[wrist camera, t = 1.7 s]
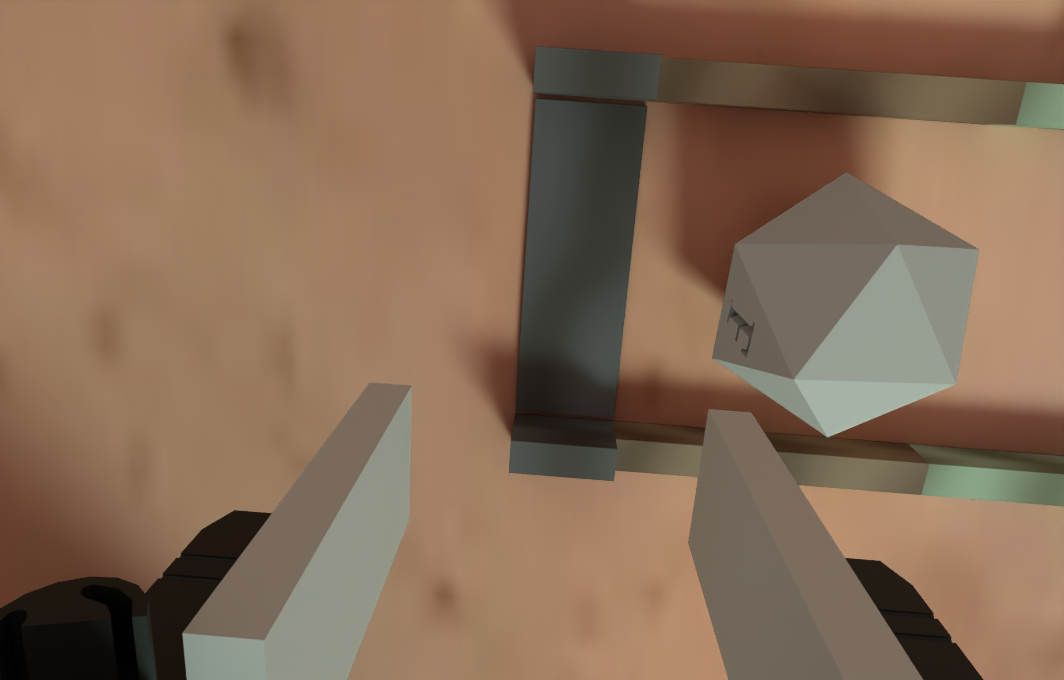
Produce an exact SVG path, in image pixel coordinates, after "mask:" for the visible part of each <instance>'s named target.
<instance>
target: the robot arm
mask: <svg viewBox="0 0 1064 680" xmlns="http://www.w3.org/2000/svg"><path fill="white" fill-rule="evenodd" d="M411 396H412V386H408V385H395V384H382V383H369V384H368V386H367V387H366V388H365V390H364V391H363V392H362V394H361V395H360V396H359V398H358V399H357V400H356V402H355V403H354V404H353V406H352V407H351V408H350V410H349V411H348V412H347V414H346V415H345V416H344V418H343V419H342V420H341V422H340V423H339V424H338V426H337V427H336V428H335V430H334V431H333V432H332V434H331V435H330V436H329V438H328V439H327V440H326V442H325V443H324V444H323V446H322V447H321V448H320V450H319V451H318V452H317V454H316V455H315V456H314V458H313V459H312V460H311V462H310V463H309V464H308V466H307V467H306V468H305V470H304V471H303V472H302V474H301V475H300V477H299V478H298V479H297V481H296V482H295V483H294V485H293V486H292V487H291V489H290V490H289V491H288V493H287V494H286V495H285V497H284V498H283V499H282V501H281V502H280V503H279V505H278V506H277V507H276V509H275V510H274V511H273V513H261V512H249V511H237V510H234V511H233V512H231V513H229V514H228V515H226V516H224V517H222V518H221V519H219V520H217V521H215V522H214V523H212V524H210V525H209V526H207V527H205V528H203V529H202V530H201V531H200V532H199V533H198V535H197V536H196V537H195V538H194V539H193V540H192V541H191V542H190V544H189V545H188V546H187V547H186V548H185V549H184V550H183V551H182V553H181V556H180V558H176V559H175V560H174V562H173V563H172V564H171V565H170V566H169V567H168V568H167V569H166V571H165V572H164V573H163V577H162V579H157V581H156V582H155V583H154V584H153V585H152V586H151V587H150V588H149V590H148V591H147V592H146V593H144V592H143V591H142V590H141V588H140V587H139V586H138V585H136V584H133V583H131V582H128V581H125V580H122V579H120V578H110V577H86V578H80V579H74V580H68V581H62V582H58V583H55V584H52V585H49V586H46V587H44V588H41V589H38V590H35V591H32V592H29V593H27V594H25V595H23V596H21V597H19V598H18V599H16V600H14V601H13V602H11V603H9V604H7V605H6V606H4V607H2V608H0V680H347V678H348V675H349V673H350V670H351V668H352V665H353V663H354V660H355V658H356V655H357V652H358V650H359V647H360V645H361V642H362V640H363V637H364V634H365V632H366V629H367V627H368V624H369V622H370V619H371V617H372V614H373V611H374V609H375V606H376V604H377V601H378V599H379V596H380V593H381V591H382V588H383V586H384V583H385V581H386V578H387V576H388V573H389V570H390V568H391V565H392V563H393V560H394V558H395V555H396V552H397V550H398V547H399V545H400V542H401V540H402V537H403V535H404V532H405V529H406V527H407V524H408V522H409V508H410V452H411ZM688 543H689V547H690V550H691V554H692V557H693V560H694V564H695V567H696V571H697V574H698V577H699V581H700V584H701V588H702V591H703V594H704V598H705V601H706V605H707V608H708V611H709V615H710V618H711V622H712V625H713V628H714V632H715V635H716V639H717V642H718V645H719V649H720V652H721V656H722V659H723V662H724V666H725V669H726V673H727V676H728V679H729V680H983V679H982V677H981V676H980V675H979V673H978V672H977V671H976V669H975V668H974V667H973V665H972V664H971V663H970V661H969V660H968V659H967V657H966V656H965V655H964V653H963V652H962V651H961V649H960V648H959V647H958V645H957V644H956V643H952V641H951V636H950V635H949V633H948V632H947V631H946V629H945V628H944V627H943V625H942V624H941V623H940V621H939V620H938V619H934V616H933V614H934V613H933V612H932V611H931V609H930V608H929V607H928V605H927V604H926V603H925V601H924V600H923V599H922V597H921V596H920V595H919V593H918V592H917V591H916V589H915V588H914V587H913V585H911V584H910V583H909V582H907V581H906V580H905V579H903V578H902V577H901V576H899V575H898V574H897V573H895V572H894V571H893V570H891V569H890V568H889V567H887V566H886V565H885V564H883V563H882V562H881V561H875V560H863V559H851V558H845V557H844V556H843V554H842V553H841V551H840V550H839V548H838V546H837V545H836V543H835V542H834V540H833V539H832V537H831V536H830V534H829V533H828V531H827V529H826V528H825V526H824V525H823V523H822V522H821V520H820V519H819V517H818V515H817V514H816V512H815V511H814V509H813V508H812V506H811V505H810V503H809V501H808V500H807V498H806V497H805V495H804V494H803V492H802V491H801V489H800V487H799V486H798V484H797V483H796V481H795V480H794V478H793V477H792V475H791V473H790V472H789V470H788V469H787V467H786V466H785V464H784V463H783V461H782V459H781V458H780V456H779V455H778V453H777V452H776V450H775V449H774V447H773V445H772V444H771V442H770V441H769V439H768V438H767V436H766V435H765V433H764V431H763V430H762V428H761V427H760V425H759V424H758V422H757V421H756V419H755V417H754V416H753V414H752V413H751V412H740V411H727V410H715V409H708V415H707V422H706V428H705V435H704V441H703V448H702V455H701V461H700V468H699V475H698V481H697V488H696V495H695V501H694V508H693V515H692V521H691V528H690V535H689V541H688Z"/></svg>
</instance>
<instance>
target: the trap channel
mask: <svg viewBox="0 0 1064 680" xmlns="http://www.w3.org/2000/svg"><path fill="white" fill-rule="evenodd" d="M533 91H534V92H535V93H536V94H547V95H562V96H577V97H591V98H606V99H620V100H635V101H650V102H664V103H679V104H694V105H708V106H723V107H737V108H752V109H767V110H781V111H796V112H811V113H825V114H840V115H854V116H869V117H884V118H898V119H913V120H927V121H942V122H957V123H971V124H986V125H1001V126H1015V127H1030V128H1044V129H1059V130H1064V84H1050V83H1035V82H1020V81H1005V80H990V79H975V78H960V77H945V76H930V75H916V74H901V73H886V72H871V71H856V70H841V69H826V68H811V67H796V66H781V65H766V64H751V63H737V62H722V61H707V60H692V59H677V58H662V57H661V55H657V54H642V53H627V52H612V51H597V50H582V49H567V48H552V47H537V46H536V50H535V65H534V81H533ZM646 113H647V106H634V105H619V104H604V103H590V102H575V101H561V100H546V99H535V115H534V130H533V146H532V161H531V177H530V193H529V208H528V224H527V240H526V255H525V271H524V286H523V302H522V318H521V333H520V349H519V364H518V380H517V396H516V411H525V412H538V413H551V414H563V415H576V416H589V417H602V418H614V409H615V400H616V391H617V382H618V372H619V363H620V354H621V345H622V335H623V326H624V317H625V308H626V298H627V289H628V280H629V271H630V261H631V252H632V243H633V234H634V224H635V215H636V206H637V197H638V187H639V178H640V169H641V160H642V150H643V141H644V132H645V123H646ZM704 435H705V428H700V427H687V426H674V425H661V424H648V423H636V422H623V421H610V420H597V419H585V418H572V417H559V416H546V415H534V414H521V413H515V419H514V425H513V431H512V437H511V447H510V463H509V473H519V474H531V475H544V476H556V477H569V478H581V479H594V480H606V481H614V475H615V470H616V471H629V472H641V473H654V474H666V475H679V476H691V477H698V475H699V468H700V461H701V455H702V448H703V441H704ZM765 435H766V436H767V438H768V439H769V441H770V442H771V444H772V445H773V447H774V449H775V450H776V452H777V453H778V455H779V456H780V458H781V459H782V461H783V463H784V464H785V466H786V467H787V469H788V470H789V472H790V473H791V475H792V477H793V478H794V480H795V481H796V483H797V484H798V485H804V486H816V487H829V488H841V489H854V490H866V491H879V492H891V493H904V494H917V495H929V496H942V497H954V498H967V499H979V500H992V501H1004V502H1017V503H1029V504H1042V505H1054V506H1064V456H1057V455H1044V454H1031V453H1019V452H1006V451H993V450H980V449H967V448H955V447H942V446H929V445H916V444H904V443H891V442H878V441H865V440H853V439H840V438H827V437H814V436H802V435H789V434H776V433H765Z"/></svg>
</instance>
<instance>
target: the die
mask: <svg viewBox="0 0 1064 680" xmlns="http://www.w3.org/2000/svg"><path fill="white" fill-rule="evenodd" d="M978 253H979V249H978V248H976V247H974V246H972V245H971V244H969V243H967V242H966V241H964V240H962V239H960V238H959V237H957V236H955V235H954V234H952V233H950V232H948V231H947V230H945V229H943V228H942V227H940V226H938V225H936V224H935V223H933V222H931V221H930V220H928V219H926V218H924V217H923V216H921V215H919V214H918V213H916V212H914V211H912V210H911V209H909V208H907V207H906V206H904V205H902V204H900V203H899V202H897V201H895V200H894V199H892V198H890V197H888V196H887V195H885V194H883V193H882V192H880V191H878V190H876V189H875V188H873V187H871V186H870V185H868V184H866V183H864V182H863V181H861V180H859V179H858V178H856V177H854V176H852V175H851V174H849V173H847V172H845V173H844V174H842V175H841V176H839V177H838V178H836V179H835V180H833V181H832V182H830V183H828V184H827V185H825V186H824V187H822V188H821V189H819V190H818V191H816V192H815V193H813V194H811V195H810V196H808V197H807V198H805V199H804V200H802V201H801V202H799V203H797V204H796V205H794V206H793V207H791V208H790V209H788V210H787V211H785V212H784V213H782V214H780V215H779V216H777V217H776V218H774V219H773V220H771V221H770V222H768V223H767V224H765V225H763V226H762V227H760V228H759V229H757V230H756V231H754V232H753V233H751V234H750V235H748V236H746V237H745V238H743V239H742V240H740V241H739V242H737V243H736V244H735V246H734V251H733V256H732V261H731V266H730V271H729V276H728V281H727V286H726V291H725V296H724V301H723V306H722V311H721V316H720V321H719V326H718V331H717V336H716V341H715V346H714V351H713V356H712V358H713V359H714V360H716V361H717V362H718V363H720V364H721V365H723V366H724V367H726V368H727V369H729V370H730V371H732V372H733V373H734V374H736V375H737V376H739V377H740V378H742V379H743V380H745V381H746V382H748V383H749V384H751V385H752V386H753V387H755V388H756V389H758V390H759V391H761V392H762V393H764V394H765V395H767V396H768V397H769V398H771V399H772V400H774V401H775V402H777V403H778V404H780V405H781V406H783V407H784V408H785V409H787V410H788V411H790V412H791V413H793V414H794V415H796V416H797V417H799V418H800V419H802V420H803V421H804V422H806V423H807V424H809V425H810V426H812V427H813V428H815V429H816V430H818V431H819V432H820V433H822V434H823V435H825V436H826V437H830V436H832V435H835V434H837V433H840V432H842V431H844V430H847V429H849V428H852V427H854V426H857V425H859V424H861V423H864V422H866V421H869V420H871V419H873V418H876V417H878V416H881V415H883V414H886V413H888V412H890V411H893V410H895V409H898V408H900V407H902V406H905V405H907V404H910V403H912V402H915V401H917V400H919V399H922V398H924V397H927V396H929V395H931V394H934V393H936V392H939V391H941V390H944V389H946V388H948V387H951V386H953V385H956V381H957V375H958V369H959V363H960V358H961V352H962V346H963V340H964V334H965V329H966V323H967V317H968V311H969V305H970V300H971V294H972V288H973V282H974V276H975V271H976V265H977V259H978Z"/></svg>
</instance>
